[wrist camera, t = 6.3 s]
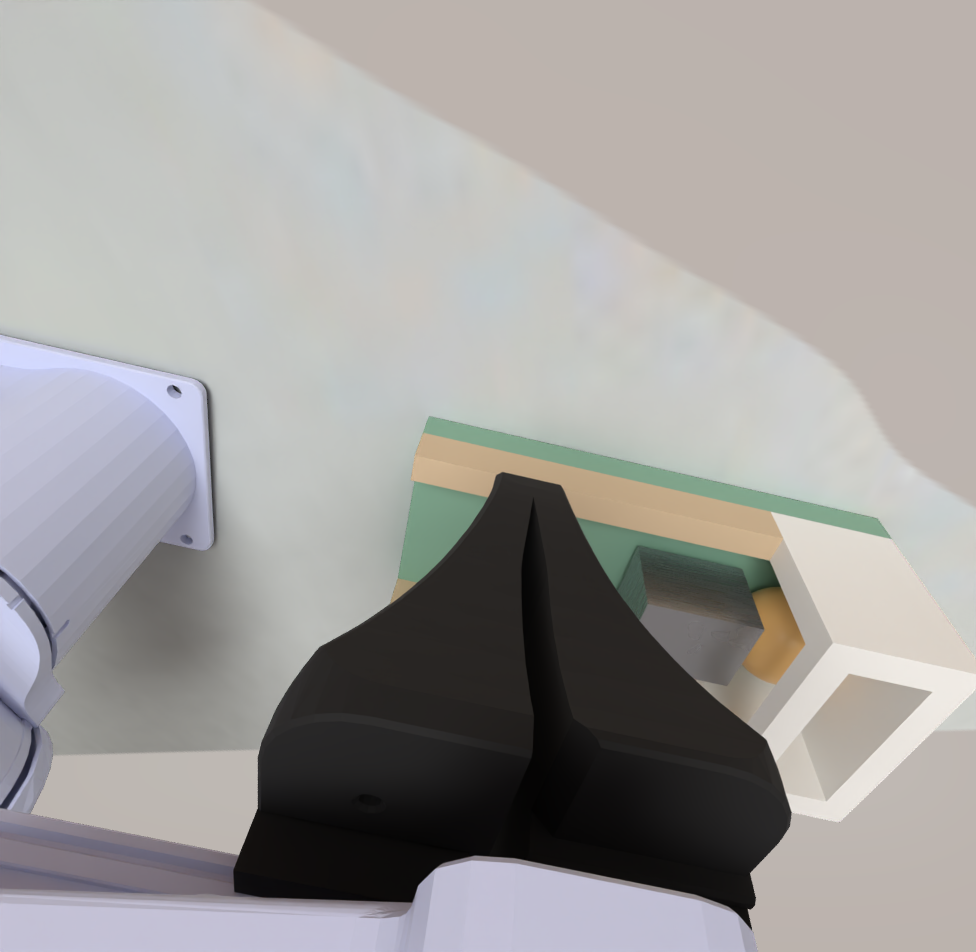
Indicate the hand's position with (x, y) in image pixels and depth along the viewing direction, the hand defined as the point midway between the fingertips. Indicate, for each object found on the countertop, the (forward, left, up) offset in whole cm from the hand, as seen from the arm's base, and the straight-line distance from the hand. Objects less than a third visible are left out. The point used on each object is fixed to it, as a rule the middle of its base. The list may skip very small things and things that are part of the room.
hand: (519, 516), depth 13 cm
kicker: (+8, -7, -8) cm, 13 cm away
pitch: (+6, -8, -9) cm, 13 cm away
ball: (+11, -8, -6) cm, 15 cm away
